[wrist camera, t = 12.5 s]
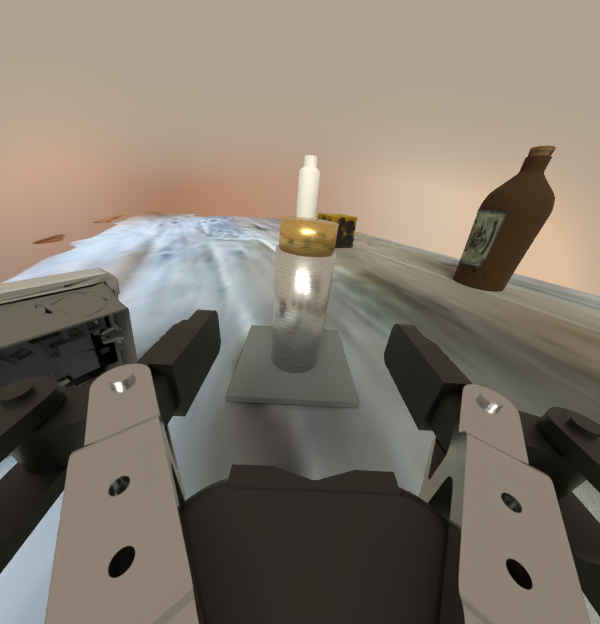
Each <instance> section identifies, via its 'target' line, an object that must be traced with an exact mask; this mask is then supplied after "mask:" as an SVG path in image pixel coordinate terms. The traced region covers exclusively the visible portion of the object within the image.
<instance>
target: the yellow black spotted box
mask: <svg viewBox="0 0 600 624" xmlns="http://www.w3.org/2000/svg"><path fill="white" fill-rule="evenodd" d="M318 219H321V220H327V221H332V222H336V223H338V224H339V225H338V231H337V237H336V243H335V248H345V247H346V248H349V247H352V246H353V244H352V243H353V240H354V231H355V226H356V221H357V217H353V216H347V215H342V214H324V213H319V214H318Z"/></svg>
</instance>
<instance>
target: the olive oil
mask: <svg viewBox="0 0 600 624" xmlns="http://www.w3.org/2000/svg"><path fill="white" fill-rule="evenodd" d="M554 150H555V147H554V146H538V147H534V148H532V149H530V152H529V155H528V157H527V158H525V161H524V163H523V165H522V167H521V170H520V172H519V173H518V174H517V175H516V176H514V177H513V178H512V179H510V180H508V181H507V182H506V183H504V184H503V185H501V186H500V187H498V188H497V189H495V190H494V191H493V192H491V193H490V194H489V195H488V196H487V198H486V199H485V200H484V201H483V203H482V204H481V206H480V208H479V210H478V212H477V216H476V219H475V221H474V224H473V227H472V230H471V233H470V236H469V238H468V241H467V244H466V246H465V249H464V252H463V254H462V257H461V259H460V262H459V265H458V267H457V270H456V272H455V275H454V280H456V281H457V282H459V283H461V284H464V285H467V286H470V287H473V288H477V289H482V290H488V291H502V290H503V289H504V288H505V286H506V285H507V283H508V281H509V280H510V278H511V276H512V275H513V273H514V271H515V269H516V268H517V266H518V264H519V263H520V261H521V260H522V258H523V257H524V255H525V253H526V252H527V250H528V249H529V247H530V245H531V244H532V242H533V241H534V239H535V237H536V236H537V234H538V233H539V231H540V230H541V228H542V227H543V225H544V223H545V222H546V220H547V219H548V217H549V216H550V214H551V212H552V210H553V206H554V201H555V197H554V193H553V191H552V189H551V187H550V186H549V184H548V182H547V180H546V178H545V176H544V171H545V169H546V167H547V165H548V163H549V162H550V159H551V158H552V157H551V155H552V153H553V152H554Z"/></svg>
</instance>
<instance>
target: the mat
mask: <svg viewBox="0 0 600 624" xmlns="http://www.w3.org/2000/svg"><path fill="white" fill-rule="evenodd" d="M272 331H273V327H269V326H253V325H252V326H251V329H250V331H249V334H248V337H247V340H246V342H245V345H244V348H243V350H242V353H241V356H240V359H239V361H238V364H237V367H236V370H235V372H234V375H233V378H232V380H231V383H230V386H229V389H228V391H227V394H226V401H227V402H247V403H268V404H288V405H308V406H328V407H348V408H357V407H358V404H359V401H358V398H357V394H356V391H355V388H354V384H353V381H352V377H351V374H350V371H349V367H348V364H347V360H346V357H345V354H344V350H343V347H342V343H341V340H340V337H339V333H338V331H330V330H323V333H322V339H321V344H320V350H319V356H318V361H317V364H316V366H315V367H314V368H313V369H311V370H310V371H307V372H304V373H289V372H286V371H283V370H281V369H279V368H278V367H277V366H276V365H275V364H274V363H273V361H272V358H271V354H272Z"/></svg>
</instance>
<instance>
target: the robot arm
mask: <svg viewBox="0 0 600 624" xmlns="http://www.w3.org/2000/svg"><path fill="white" fill-rule="evenodd" d="M220 345H221V339H220V330H219V321H218V314H217V312H216V311H211V310H197V311H196V312H195V313H194V314H193V315H192V316H191V317H190V318H189V319H188V320H183V321H181V322H179V323H177V324H175V325H173V326H172V327H171V328H170V329H169V330H168V331H167V332H166V335H163V336H162V337H161V338H160V339H159V341H157V342H156V343H155V344H154V345H153V346H152V347H151V348H150V349H149V350H148V351H147V352H146V353H145V354H144V355H143V356H142V357H141V358H140V359H139V360H138V361H137V362H136V363H135V364H127V365H123V366H119V367H116V368H114V369H111V370H109V371H107V372H106V373H104V374H102V375H101V376H100V377H98V378H97V379H96V380H95V381H94V382H93V384H90V385H84V386H78V387H71V388H65V389H62V388H61V387H60V385H59V383H58V382H57V380H56V379H55V378H53V377H50V376H38V377H31V378H27V379H23V380H20V381H17V382H14V383H11V384H9V385H7V386H4V387H2V388H0V462H1V461H2V460H3V459H4V458H6V457H7V456H8V455H9V454H11V455H12V456H13V457H14V458H15V459H16V460H17V461H18V463H17V464H16V465H15V466H14V467H13V468H12V469H11V470H10V471H9V472H8V473H7V474H6V475H5V476H4V477H3V478H2V479H1V480H0V573H1V572H2V571H3V569H4V568H5V567H6V566H7V564H8V563H9V562H10V560H11V559H12V558H13V556H14V555H15V554H16V552H17V551H18V550H19V548H20V547H21V546H22V544H23V543H24V542H25V540H26V539H27V538H28V536H29V535H30V534H31V533H32V531H33V530H34V529H35V527H36V526H37V525H38V523H39V522H40V521H41V519H42V518H43V517H44V515H45V514H46V513H47V511H48V510H49V509H50V507H51V506H52V505H53V503H54V502H55V501H56V500H57V498H58V497H59V496H60V494H61V493H62V492H63V490H64V494H63V501H62V508H61V515H60V522H59V528H58V535H57V542H56V549H55V556H54V563H53V569H52V576H51V583H50V590H49V597H48V603H47V610H46V617H45V624H591V623H590V620H589V616H588V612H587V609H586V605H585V601H584V597H583V594H582V591H583V593H584V594H585V596H586V597H587V599H588V600H589V602H590V603H591V605H592V606H593V607H594V609H595V610H596V612H597V613H598V615H599V616H600V523H599V522H598V521H597V520H596V519H595V517H594V516H593V515H592V514H591V513H590V512H589V511H588V509H587V508H586V507H585V506H584V505H583V504H582V503H581V501H580V500H579V499H578V498H577V497H576V496H575V495H574V493H573V492H572V491H573V490H574V489H575V488H577V487H578V486H579V485H580V484H582V483H583V482H584V481H586V480H588V481H589V482H590V483H591V484H592V485H593V486H594V487H595V488H596V489H597V490H598V491H599V492H600V425H599V424H597V423H596V422H594V421H592V420H591V419H589V418H587V417H585V416H583V415H581V414H579V413H576V412H574V411H571V410H568V409H564V408H560V407H552V408H550V409H549V410H548V411H547V412H546V413H545V414H544V415H543V416H542V417H538V416H534V415H531V414H528V413H524V412H521V411H518V410H517V409H516V407H515V406H514V405H513V404H512V403H511V402H510V401H509V400H508V399H506V398H505V397H504V396H502V395H501V394H499V393H497V392H495V391H494V390H491V389H489V388H487V387H484V386H481V385H475V384H472V383H471V382H470V380H469V379H468V378H467V377H466V376H465V375H464V374H463V373H462V372H461V371H460V370H459V369H458V367H457V366H456V365H455V364H454V363H453V362H452V361H450V359H449V358H448V357H447V356H446V355H445V354H443V351H442V350H441V349H440V348H439V347H438V346H437V345H436V344H435V343H433V342H432V341H430V340H429V339H427V338H426V337H424V336H423V335H422V334H421V333H420V331H419V330H418V329H417V328H416V327H415V326H414V325H403V324H395V325H394V326H393V328H392V331H391V334H390V337H389V340H388V343H387V346H386V349H385V353H384V361H385V364H386V367H387V368H388V370H389V372H390V374H391V376H392V378H393V380H394V382H395V384H396V386H397V388H398V390H399V392H400V394H401V396H402V398H403V400H404V402H405V404H406V406H407V408H408V410H409V412H410V414H411V416H412V418H413V420H414V421H415V423H416V425H417V427H418V429H419V430H430V431H433V432H434V434H435V436H434V438H433V440H432V443H431V448H430V452H429V457H428V461H427V466H426V471H425V475H424V480H423V484H422V488H421V491H420V493H419V496H418V497H417V496H416V495H414V494H413V493H410V492H408V491H406V490H404V489H402V488H399V487H398V484H397V481H396V478H395V475H394V472H383V471H361V470H353V471H350V472H346V473H342V474H339V475H335V476H331V477H328V478H324V479H320V480H310V479H307V478H304V477H302V476H299V475H296V474H293V473H290V472H287V471H284V470H282V469H279V468H276V467H273V466H254V465H233V464H232V467H231V471H230V475H229V478H228V479H225V480H221V481H219V482H216V483H214V484H211V485H209V486H207V487H206V488H204V489H202V490H200V491H199V492H197V493H196V494H194V495H193V496H191V497H190V498H188V499H186V495H185V491H184V488H183V484H182V481H181V477H180V473H179V469H178V465H177V460H176V456H175V452H174V448H173V444H172V439H171V435H170V431H169V427H168V423H169V421H170V419H171V418H172V416H186V414H187V412H188V410H189V408H190V406H191V404H192V402H193V401H194V399H195V397H196V395H197V393H198V391H199V389H200V387H201V385H202V384H203V382H204V380H205V378H206V376H207V374H208V372H209V370H210V368H211V367H212V365H213V363H214V361H215V359H216V357H217V355H218V353H219V350H220Z"/></svg>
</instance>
